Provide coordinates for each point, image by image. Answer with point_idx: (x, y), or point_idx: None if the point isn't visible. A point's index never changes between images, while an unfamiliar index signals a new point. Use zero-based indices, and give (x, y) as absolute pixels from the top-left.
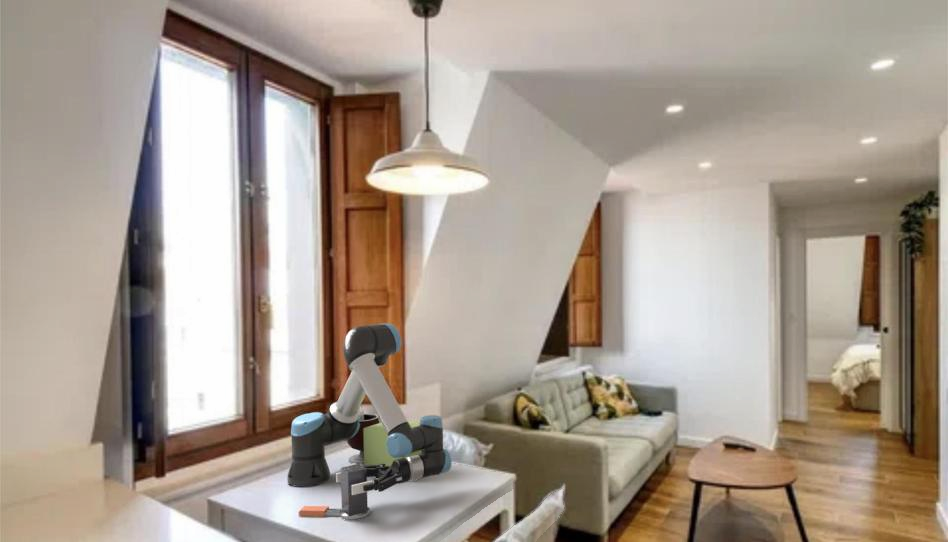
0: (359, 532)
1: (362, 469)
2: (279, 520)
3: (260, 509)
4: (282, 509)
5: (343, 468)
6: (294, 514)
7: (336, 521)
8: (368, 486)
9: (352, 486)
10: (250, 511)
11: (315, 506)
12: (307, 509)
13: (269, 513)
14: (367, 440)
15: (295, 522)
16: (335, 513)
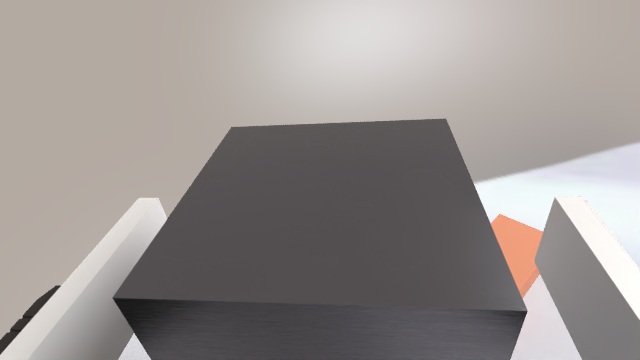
0: (123, 356)
1: (154, 239)
2: (484, 185)
3: (635, 165)
4: (613, 207)
5: (398, 126)
6: (527, 224)
7: None
8: (21, 323)
9: (139, 201)
10: (620, 148)
11: (527, 269)
12: (497, 236)
13: (576, 176)
14: None
15: None
16: None
